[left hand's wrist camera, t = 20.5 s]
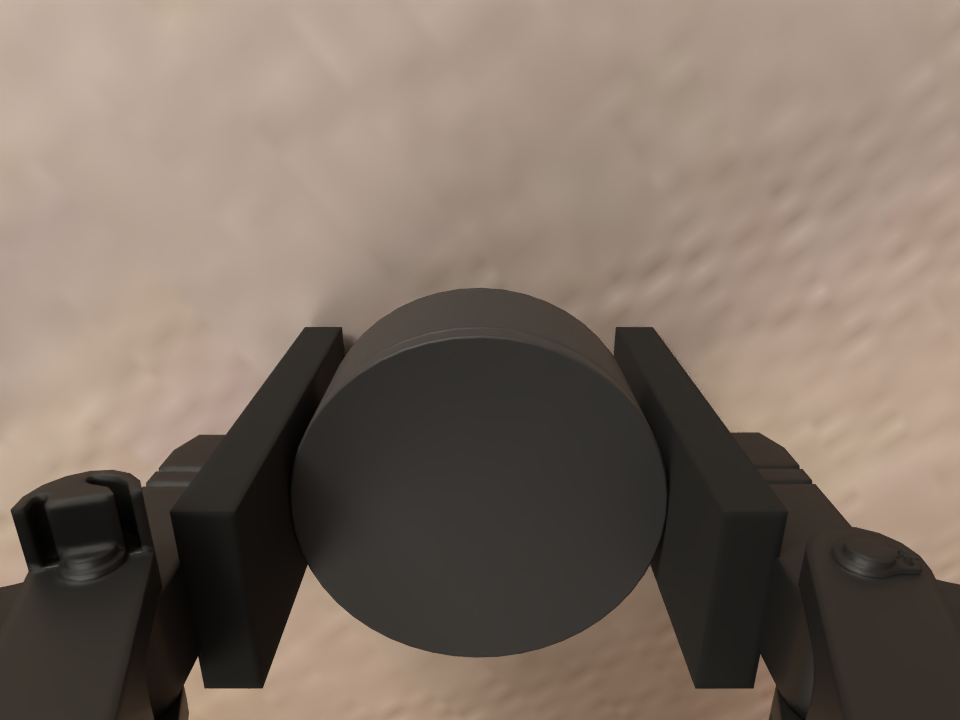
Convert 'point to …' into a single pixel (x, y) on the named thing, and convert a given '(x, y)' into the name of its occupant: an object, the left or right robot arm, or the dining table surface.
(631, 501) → the lid
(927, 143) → the dining table surface
